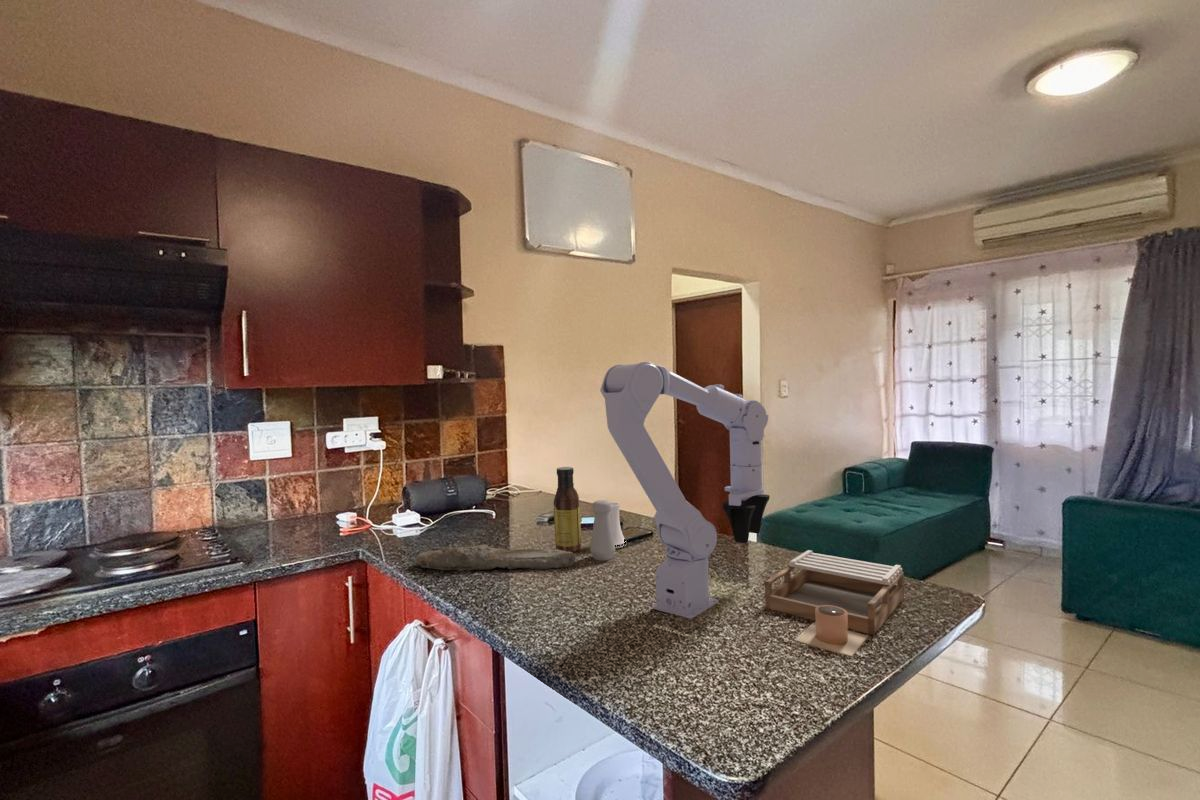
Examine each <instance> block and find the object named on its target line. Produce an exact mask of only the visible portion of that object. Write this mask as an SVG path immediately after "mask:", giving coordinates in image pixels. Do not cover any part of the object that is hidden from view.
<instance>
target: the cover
mask: <svg viewBox="0 0 1200 800" xmlns="http://www.w3.org/2000/svg"><path fill="white" fill-rule="evenodd" d="M788 565H789V566H790V567H795V568H794V569H796V568H797V569H800V570H803V569H806V570H811V571H816V572H821V573H826V574H832V575H837V576H842V577H847V578H853V579H858V580H863V581H868V582H874V583H879V584H884V585H890V584H891V582H893V581H894V579H896V578H897V576H898V575H899V573H901V572H903V568H902V565H901V564H895V565H887V564H881V563H876V562H869V561H864V560H858V559H854V558H853V559H852V558H845V557H839V556H835V555H828V554H822V553H815V552H813V550H810V549H807V550H806V551H804V552H802V553H801V554H799V555H798V556H796V557H794V558H793V559H791V560H790V561H789V563H788Z"/></svg>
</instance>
